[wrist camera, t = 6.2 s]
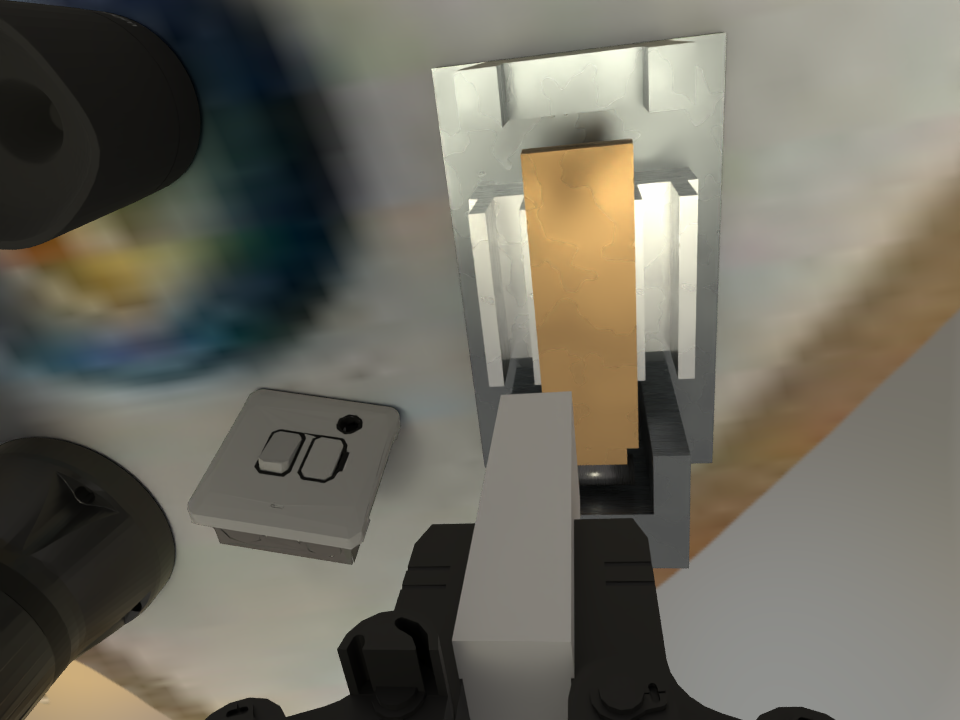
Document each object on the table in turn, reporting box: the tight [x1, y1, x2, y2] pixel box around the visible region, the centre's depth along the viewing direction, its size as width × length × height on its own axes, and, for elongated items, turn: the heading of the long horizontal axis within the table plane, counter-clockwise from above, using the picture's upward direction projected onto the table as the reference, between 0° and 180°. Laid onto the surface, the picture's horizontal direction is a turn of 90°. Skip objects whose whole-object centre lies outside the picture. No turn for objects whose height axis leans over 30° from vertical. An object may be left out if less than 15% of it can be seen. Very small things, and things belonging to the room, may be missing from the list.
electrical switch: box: [187, 389, 401, 565], centre depth 38 cm, size 9×5×9 cm, turn 85°
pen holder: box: [0, 0, 201, 250], centre depth 31 cm, size 9×9×10 cm
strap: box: [520, 138, 639, 486], centre depth 28 cm, size 15×4×1 cm, turn 7°
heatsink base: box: [432, 32, 727, 568], centre depth 31 cm, size 22×13×10 cm, turn 7°
